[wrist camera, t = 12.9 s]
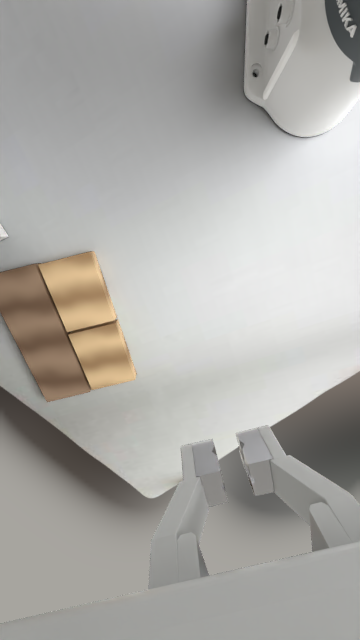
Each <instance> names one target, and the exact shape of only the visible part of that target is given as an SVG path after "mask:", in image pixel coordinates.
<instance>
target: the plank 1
mask: <svg viewBox="0 0 360 640" xmlns="http://www.w3.org/2000/svg"><path fill="white" fill-rule="evenodd" d="M38 266H39V268H40V270H41V273H42V275H43V277H44V280H45V282H46V284H47V287H48V289H49V291H50V294H51V296H52V298H53V301H54V303H55V305H56V308H57V310H58V312H59V315H60V317H61V319H62V322H63V324H64V326H65V329H66V331H67V332H69V331H73V330H77V329H81V328H86V327H90V326H94V325H98V324H102V323H106V322H110V321H114V320H115V319H116V317H117V316H116V313H115V310H114V307H113V304H112V301H111V298H110V295H109V293H108V290H107V287H106V284H105V281H104V278H103V275H102V272H101V269H100V267H99V264H98V261H97V258H96V255H95V252H94V251H92V252H86V253H82V254H78V255H75V256H71V257H67V258H63V259H59V260H55V261H51V262H47V263H43V264H39V265H38Z"/></svg>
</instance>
